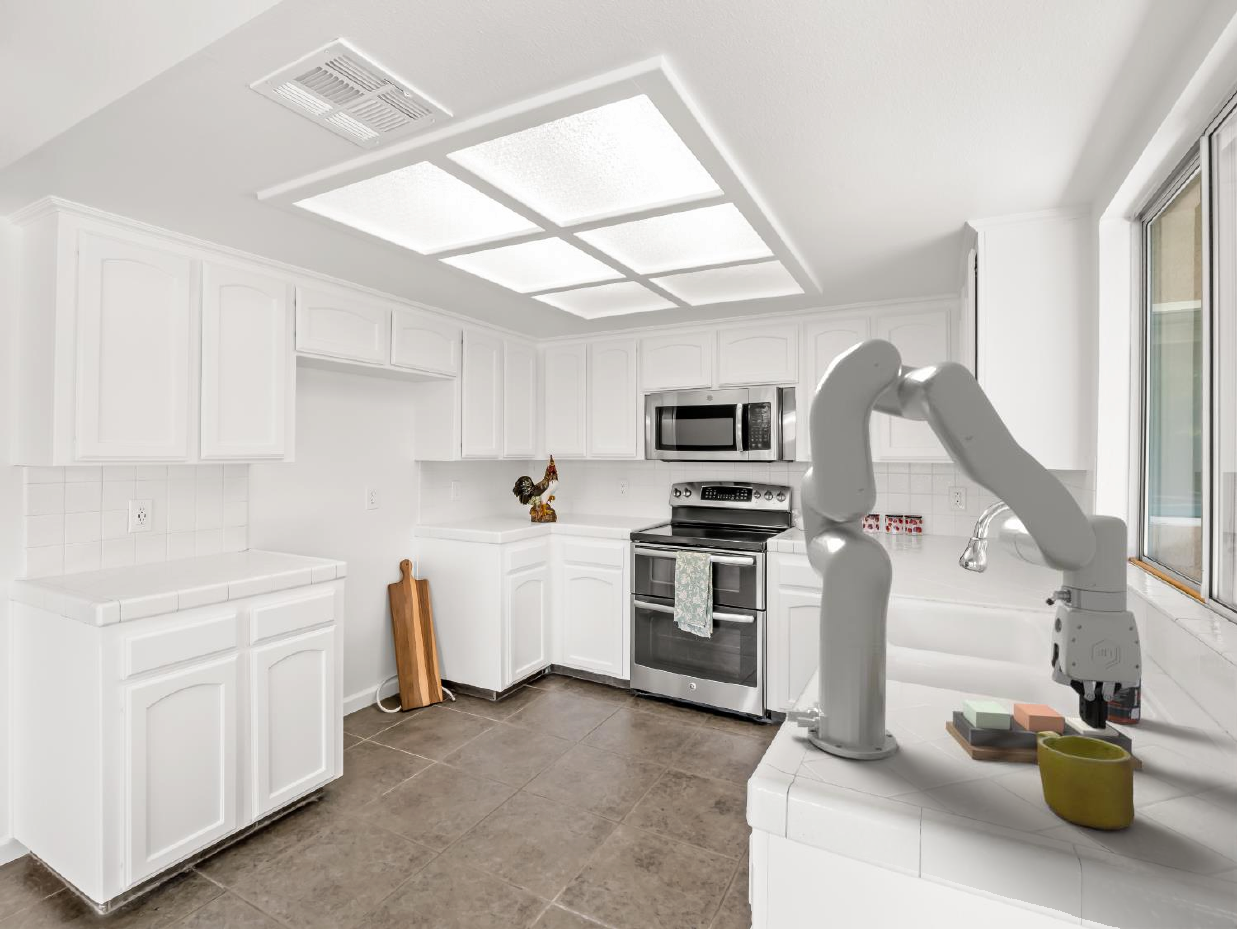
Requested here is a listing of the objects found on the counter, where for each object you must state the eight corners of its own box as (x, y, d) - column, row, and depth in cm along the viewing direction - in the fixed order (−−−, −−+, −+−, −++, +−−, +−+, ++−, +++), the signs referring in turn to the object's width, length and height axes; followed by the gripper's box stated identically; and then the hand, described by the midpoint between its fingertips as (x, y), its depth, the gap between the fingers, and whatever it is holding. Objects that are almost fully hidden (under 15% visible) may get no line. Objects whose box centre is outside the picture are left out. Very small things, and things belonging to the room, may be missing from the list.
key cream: (1082, 746, 91) (1083, 730, 91) (1064, 733, 96) (1065, 717, 96) (1118, 749, 90) (1118, 732, 90) (1098, 735, 95) (1098, 719, 95)
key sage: (975, 728, 93) (976, 712, 93) (963, 715, 98) (963, 700, 98) (1009, 730, 92) (1009, 714, 92) (995, 717, 97) (995, 701, 97)
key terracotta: (1028, 731, 92) (1029, 715, 92) (1013, 718, 97) (1013, 703, 97) (1063, 733, 91) (1063, 717, 91) (1046, 720, 96) (1046, 704, 96)
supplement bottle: (1149, 727, 102) (1150, 657, 102) (1107, 724, 103) (1108, 654, 103) (1127, 713, 108) (1128, 646, 108) (1087, 709, 109) (1088, 644, 109)
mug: (1177, 830, 70) (1136, 736, 72) (1078, 849, 72) (1041, 756, 74) (1119, 796, 82) (1085, 716, 84) (1035, 812, 83) (1005, 733, 86)
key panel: (972, 758, 91) (972, 734, 91) (946, 729, 100) (946, 706, 100) (1142, 770, 88) (1142, 745, 88) (1097, 738, 98) (1098, 715, 97)
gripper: (1052, 604, 90) (1051, 733, 90) (1169, 607, 88) (1168, 739, 88) (1025, 593, 98) (1025, 712, 98) (1133, 595, 96) (1132, 717, 96)
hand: (1093, 724), depth 93 cm, fingers closed
